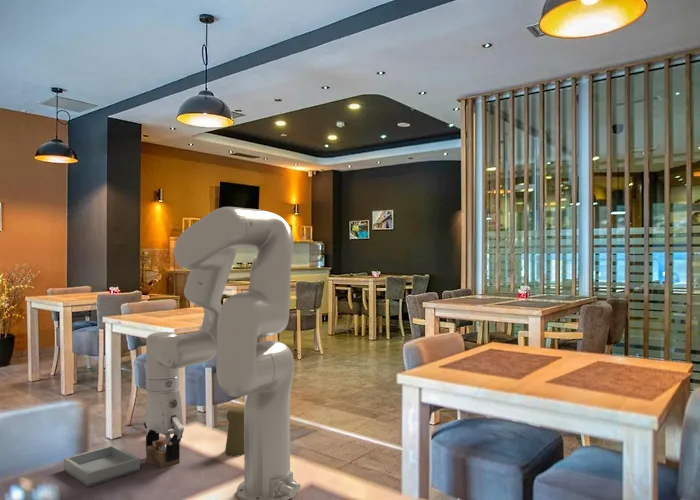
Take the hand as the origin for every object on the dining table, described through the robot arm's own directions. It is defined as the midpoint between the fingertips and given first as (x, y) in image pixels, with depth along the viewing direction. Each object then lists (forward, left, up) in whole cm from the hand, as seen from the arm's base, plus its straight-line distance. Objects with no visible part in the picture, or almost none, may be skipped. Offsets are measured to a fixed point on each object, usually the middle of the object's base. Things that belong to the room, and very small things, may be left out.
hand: (162, 455), depth 129 cm
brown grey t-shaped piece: (0, 0, -2) cm, 2 cm away
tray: (+6, +12, -2) cm, 13 cm away
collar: (0, 0, -2) cm, 2 cm away
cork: (-8, -16, -2) cm, 18 cm away
